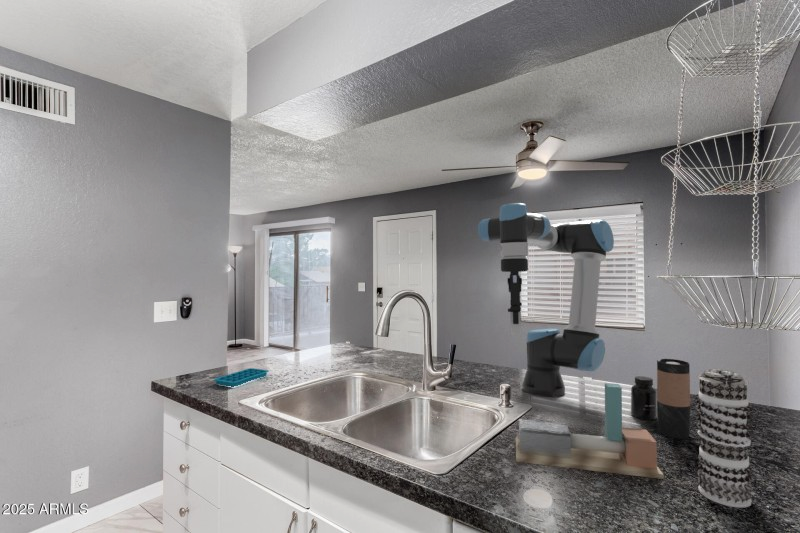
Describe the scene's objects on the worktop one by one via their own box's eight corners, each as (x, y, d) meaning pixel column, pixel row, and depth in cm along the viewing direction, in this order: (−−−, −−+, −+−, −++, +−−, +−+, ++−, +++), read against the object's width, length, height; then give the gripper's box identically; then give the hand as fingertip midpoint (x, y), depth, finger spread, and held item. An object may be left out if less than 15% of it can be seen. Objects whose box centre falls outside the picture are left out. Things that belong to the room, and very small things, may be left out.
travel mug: (696, 440, 107) (695, 365, 107) (664, 438, 108) (663, 364, 108) (682, 429, 114) (681, 359, 114) (652, 427, 116) (652, 358, 116)
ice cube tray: (270, 377, 173) (270, 370, 173) (233, 390, 155) (233, 382, 155) (250, 374, 178) (250, 367, 178) (212, 386, 160) (212, 379, 160)
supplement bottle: (651, 422, 119) (650, 382, 119) (627, 415, 125) (626, 377, 125) (660, 417, 123) (660, 378, 123) (637, 411, 129) (636, 373, 129)
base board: (516, 461, 96) (516, 457, 96) (515, 440, 107) (515, 436, 107) (663, 479, 87) (663, 474, 87) (645, 454, 99) (645, 450, 99)
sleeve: (519, 453, 98) (519, 429, 98) (519, 441, 105) (519, 419, 105) (570, 458, 95) (570, 434, 95) (566, 446, 102) (566, 423, 102)
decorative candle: (729, 512, 76) (727, 379, 76) (684, 486, 85) (683, 368, 85) (767, 505, 77) (765, 376, 78) (719, 480, 86) (718, 365, 87)
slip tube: (565, 450, 97) (564, 384, 97) (563, 444, 100) (562, 380, 100) (639, 458, 92) (638, 388, 93) (634, 451, 96) (634, 384, 96)
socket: (627, 465, 91) (626, 439, 92) (619, 451, 98) (618, 427, 98) (656, 468, 90) (656, 442, 90) (646, 454, 97) (646, 429, 97)
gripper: (501, 258, 128) (503, 324, 128) (499, 257, 104) (501, 339, 104) (526, 257, 126) (527, 325, 126) (529, 257, 102) (531, 340, 102)
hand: (515, 331), depth 115 cm, fingers open, 13 cm apart
